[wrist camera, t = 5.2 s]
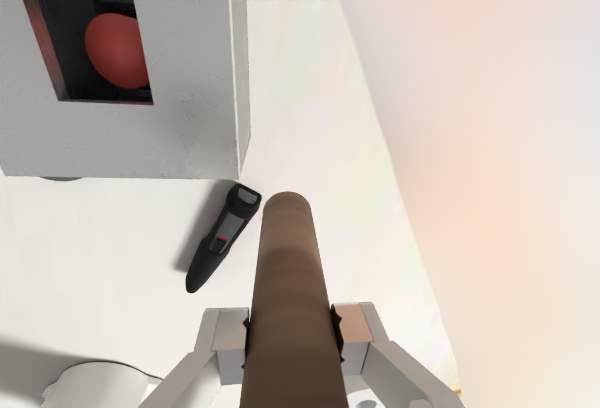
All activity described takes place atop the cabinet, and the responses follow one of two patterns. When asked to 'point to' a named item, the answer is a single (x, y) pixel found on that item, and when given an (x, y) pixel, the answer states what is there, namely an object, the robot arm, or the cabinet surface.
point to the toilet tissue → (360, 393)
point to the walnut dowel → (291, 317)
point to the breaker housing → (124, 92)
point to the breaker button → (117, 50)
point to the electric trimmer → (222, 235)
